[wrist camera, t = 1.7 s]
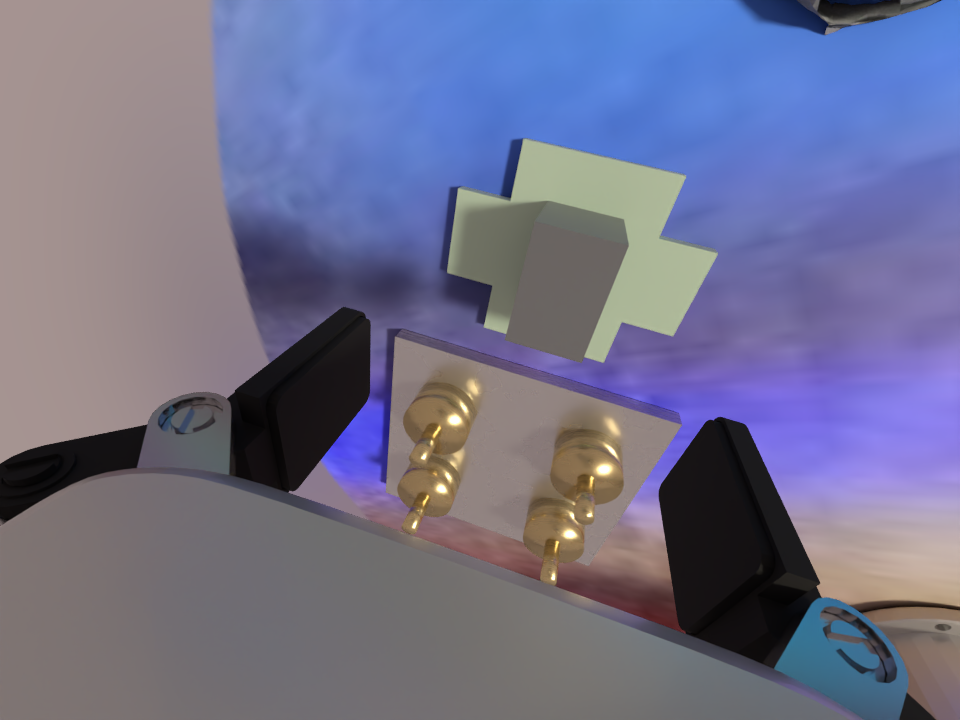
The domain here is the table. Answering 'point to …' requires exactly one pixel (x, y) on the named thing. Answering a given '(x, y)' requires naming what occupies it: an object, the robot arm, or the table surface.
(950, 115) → the table surface
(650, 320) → the board
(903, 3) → the electronic device
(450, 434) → the chassis
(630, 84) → the table surface
